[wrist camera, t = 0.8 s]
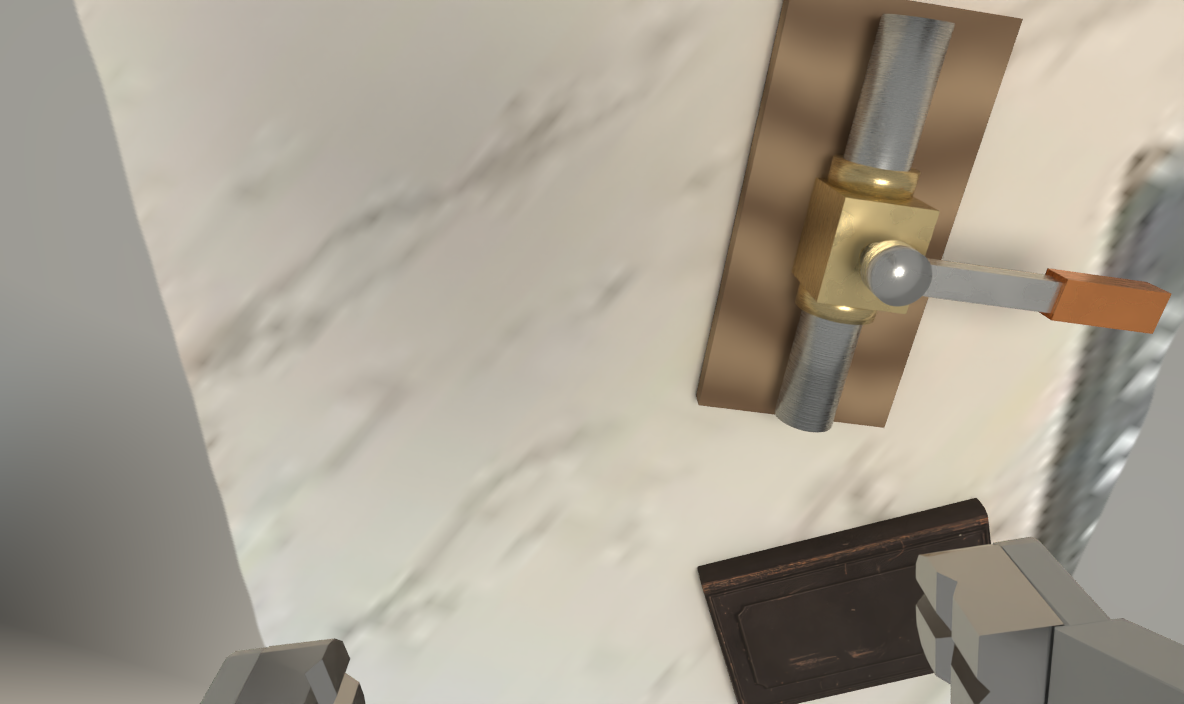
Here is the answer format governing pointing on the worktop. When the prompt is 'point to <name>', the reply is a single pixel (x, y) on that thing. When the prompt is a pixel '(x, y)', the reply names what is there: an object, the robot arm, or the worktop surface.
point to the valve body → (861, 216)
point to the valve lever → (1013, 289)
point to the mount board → (805, 151)
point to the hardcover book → (832, 606)
